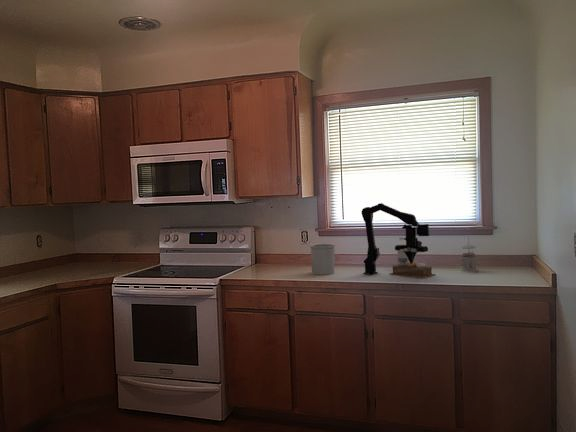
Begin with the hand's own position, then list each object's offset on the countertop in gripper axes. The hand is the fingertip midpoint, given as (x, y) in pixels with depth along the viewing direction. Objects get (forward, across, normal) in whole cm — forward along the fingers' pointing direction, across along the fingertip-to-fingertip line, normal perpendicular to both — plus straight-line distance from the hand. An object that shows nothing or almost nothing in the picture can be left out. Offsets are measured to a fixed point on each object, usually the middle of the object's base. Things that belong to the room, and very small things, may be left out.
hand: (411, 263), depth 278 cm
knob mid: (+5, 0, 0) cm, 5 cm away
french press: (+7, -20, -30) cm, 37 cm away
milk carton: (+7, +16, -18) cm, 25 cm away
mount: (+7, 0, 0) cm, 7 cm away
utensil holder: (+7, +47, +24) cm, 53 cm away
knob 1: (+3, +6, 0) cm, 6 cm away
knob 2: (+5, -6, 0) cm, 8 cm away
